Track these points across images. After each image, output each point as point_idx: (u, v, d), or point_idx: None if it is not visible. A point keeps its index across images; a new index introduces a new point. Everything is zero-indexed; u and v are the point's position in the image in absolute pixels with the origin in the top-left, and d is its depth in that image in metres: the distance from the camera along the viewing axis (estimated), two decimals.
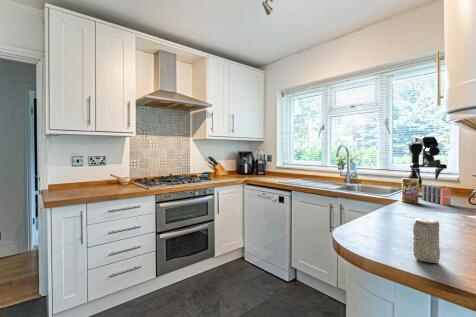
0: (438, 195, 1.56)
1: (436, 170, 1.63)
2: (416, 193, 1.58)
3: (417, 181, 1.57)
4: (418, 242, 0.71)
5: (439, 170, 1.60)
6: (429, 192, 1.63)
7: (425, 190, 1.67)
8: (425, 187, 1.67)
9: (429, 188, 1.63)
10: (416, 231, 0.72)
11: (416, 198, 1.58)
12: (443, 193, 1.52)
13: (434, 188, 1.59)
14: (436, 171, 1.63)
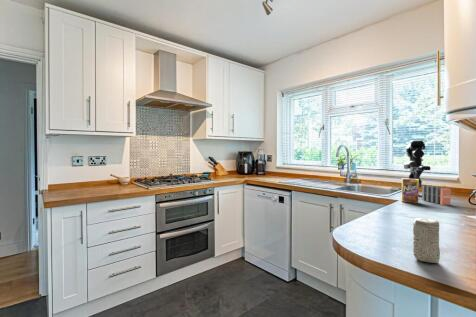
0: (438, 195, 1.56)
1: None
2: (416, 193, 1.58)
3: (417, 181, 1.57)
4: (418, 242, 0.71)
5: (414, 171, 1.76)
6: (429, 192, 1.63)
7: (425, 190, 1.67)
8: (425, 187, 1.67)
9: (429, 188, 1.63)
10: (416, 231, 0.72)
11: (416, 198, 1.58)
12: (443, 193, 1.52)
13: (434, 188, 1.59)
14: None
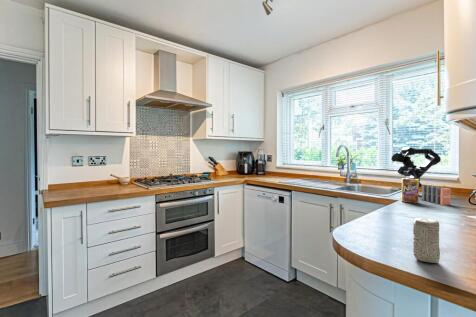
0: (438, 195, 1.56)
1: None
2: (416, 193, 1.58)
3: (417, 181, 1.57)
4: (418, 242, 0.71)
5: (410, 174, 1.82)
6: (429, 192, 1.63)
7: (425, 190, 1.67)
8: (425, 187, 1.67)
9: (429, 188, 1.63)
10: (416, 231, 0.72)
11: (416, 198, 1.58)
12: (443, 193, 1.52)
13: (434, 188, 1.59)
14: None
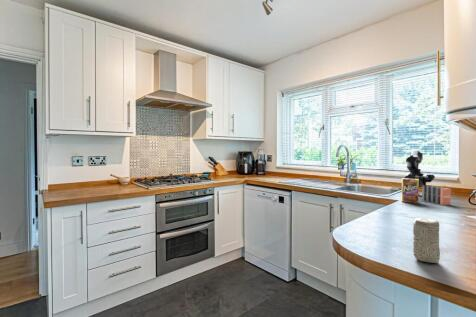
0: (438, 195, 1.56)
1: None
2: (416, 193, 1.58)
3: (417, 181, 1.57)
4: (418, 242, 0.71)
5: None
6: (429, 192, 1.63)
7: (425, 190, 1.67)
8: (425, 187, 1.67)
9: (429, 188, 1.63)
10: (416, 231, 0.72)
11: (416, 198, 1.58)
12: (443, 193, 1.52)
13: (434, 188, 1.59)
14: None
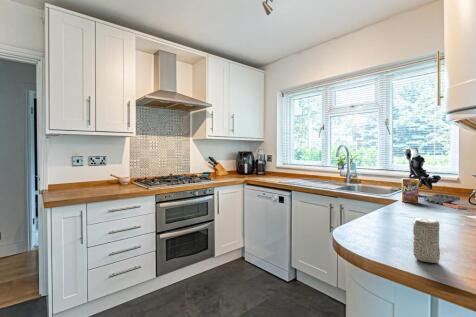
0: (446, 201, 1.50)
1: None
2: (416, 193, 1.58)
3: (417, 181, 1.57)
4: (418, 242, 0.71)
5: (422, 183, 1.70)
6: None
7: None
8: None
9: None
10: (416, 231, 0.72)
11: (416, 198, 1.58)
12: (454, 207, 1.44)
13: None
14: None
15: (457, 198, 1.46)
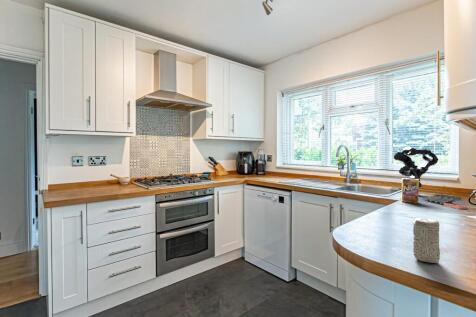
0: (447, 201, 1.49)
1: None
2: (416, 193, 1.58)
3: (417, 181, 1.57)
4: (418, 242, 0.71)
5: (411, 174, 1.81)
6: None
7: None
8: None
9: None
10: (416, 231, 0.72)
11: (416, 198, 1.58)
12: (455, 207, 1.44)
13: None
14: None
15: (458, 198, 1.46)
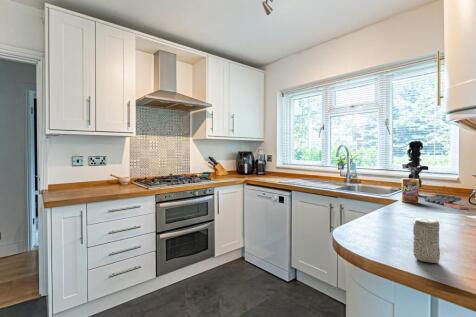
0: (448, 202, 1.49)
1: None
2: (416, 193, 1.58)
3: (417, 181, 1.57)
4: (418, 242, 0.71)
5: (412, 171, 1.78)
6: None
7: None
8: None
9: None
10: (416, 231, 0.72)
11: (416, 198, 1.58)
12: None
13: None
14: None
15: (459, 198, 1.46)
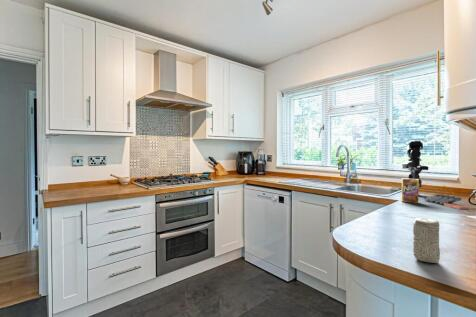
0: (447, 202, 1.49)
1: None
2: (416, 193, 1.58)
3: (417, 181, 1.57)
4: (418, 242, 0.71)
5: (412, 171, 1.78)
6: None
7: None
8: None
9: None
10: (416, 231, 0.72)
11: (416, 198, 1.58)
12: None
13: None
14: None
15: (458, 198, 1.45)
